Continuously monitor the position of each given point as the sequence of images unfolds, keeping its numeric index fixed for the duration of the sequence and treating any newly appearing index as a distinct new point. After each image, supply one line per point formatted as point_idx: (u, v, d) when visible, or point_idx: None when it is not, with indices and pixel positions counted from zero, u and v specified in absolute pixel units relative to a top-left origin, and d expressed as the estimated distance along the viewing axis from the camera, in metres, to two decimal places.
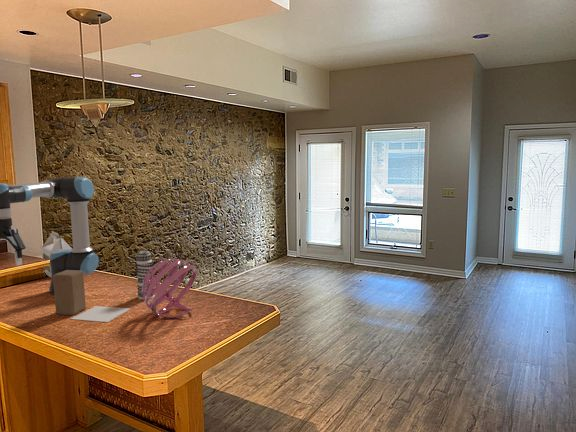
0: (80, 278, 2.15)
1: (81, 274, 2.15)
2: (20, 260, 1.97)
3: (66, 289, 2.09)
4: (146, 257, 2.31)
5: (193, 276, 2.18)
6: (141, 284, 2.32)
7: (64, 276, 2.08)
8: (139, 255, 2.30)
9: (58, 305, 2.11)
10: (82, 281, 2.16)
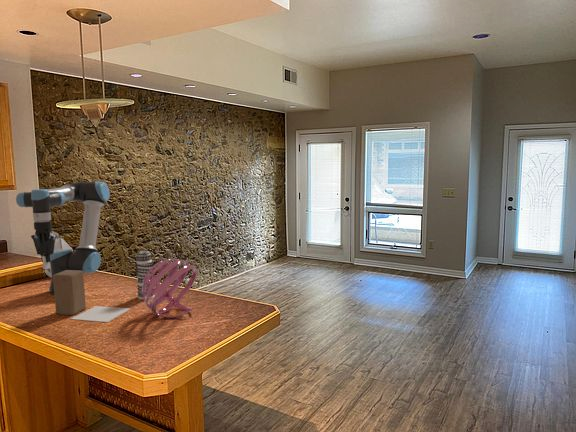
0: (80, 278, 2.14)
1: (81, 274, 2.15)
2: (48, 264, 2.16)
3: (65, 289, 2.09)
4: (146, 257, 2.31)
5: (193, 276, 2.18)
6: (141, 284, 2.32)
7: (64, 276, 2.08)
8: (139, 255, 2.30)
9: (58, 305, 2.11)
10: (82, 281, 2.16)
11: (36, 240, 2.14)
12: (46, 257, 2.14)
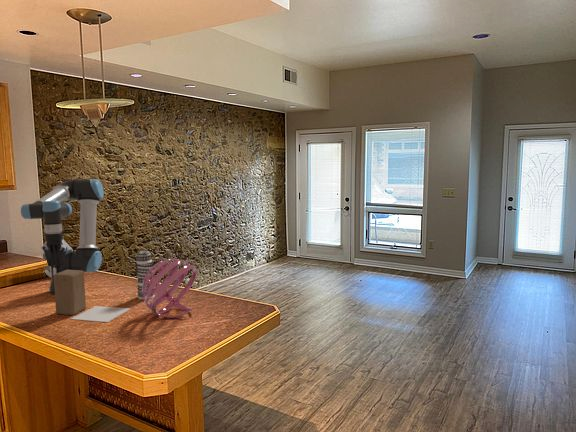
0: (81, 278, 2.14)
1: (82, 274, 2.15)
2: None
3: (66, 289, 2.08)
4: (146, 257, 2.31)
5: (193, 276, 2.18)
6: (141, 284, 2.32)
7: (65, 276, 2.08)
8: (139, 255, 2.30)
9: (58, 305, 2.11)
10: (83, 281, 2.16)
11: (47, 251, 2.13)
12: (57, 269, 2.13)
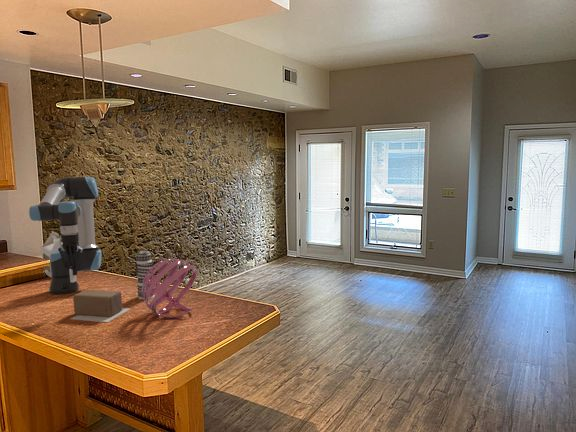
0: None
1: None
2: (75, 277, 2.13)
3: (97, 310, 2.07)
4: (146, 257, 2.31)
5: (193, 276, 2.18)
6: (141, 284, 2.32)
7: (109, 310, 2.06)
8: (139, 255, 2.30)
9: (80, 300, 2.08)
10: None
11: (63, 253, 2.11)
12: (73, 270, 2.11)
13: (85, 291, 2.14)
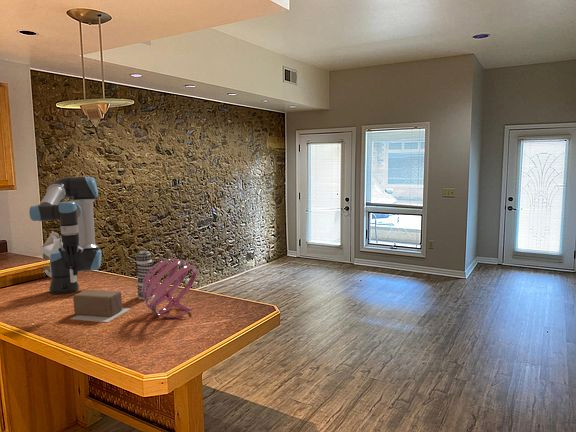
0: None
1: None
2: (75, 277, 2.13)
3: (97, 310, 2.07)
4: (146, 257, 2.31)
5: (193, 276, 2.18)
6: (141, 284, 2.32)
7: (109, 310, 2.06)
8: (139, 255, 2.30)
9: (80, 300, 2.08)
10: None
11: (63, 253, 2.11)
12: (73, 270, 2.11)
13: (85, 291, 2.14)
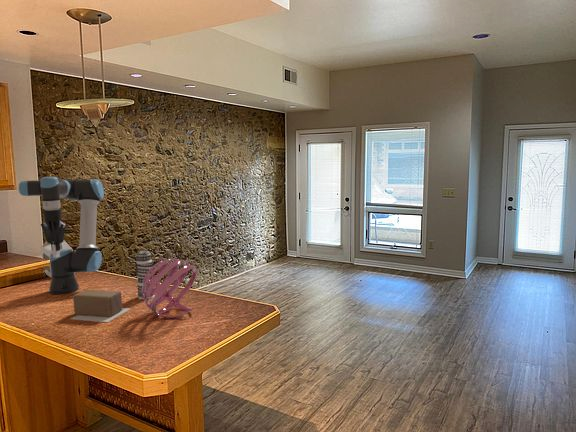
0: None
1: None
2: (58, 253, 2.14)
3: (97, 310, 2.07)
4: (146, 257, 2.31)
5: (193, 276, 2.18)
6: (141, 284, 2.32)
7: (109, 310, 2.06)
8: (139, 255, 2.30)
9: (80, 300, 2.08)
10: None
11: (46, 228, 2.12)
12: (56, 245, 2.12)
13: (85, 291, 2.14)
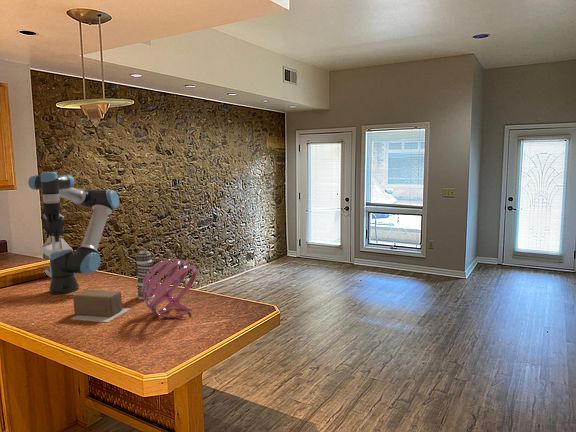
0: None
1: None
2: (57, 244, 2.25)
3: (97, 310, 2.07)
4: (146, 257, 2.31)
5: (193, 276, 2.18)
6: (141, 284, 2.32)
7: (109, 310, 2.06)
8: (139, 255, 2.30)
9: (80, 300, 2.08)
10: None
11: (45, 221, 2.24)
12: (55, 237, 2.23)
13: (85, 291, 2.14)
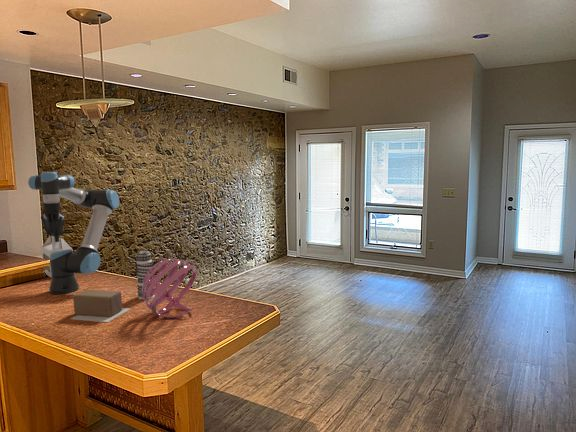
0: None
1: None
2: (57, 244, 2.25)
3: (97, 310, 2.07)
4: (146, 257, 2.31)
5: (193, 276, 2.18)
6: (141, 284, 2.32)
7: (109, 310, 2.06)
8: (139, 255, 2.30)
9: (80, 300, 2.08)
10: None
11: (45, 221, 2.24)
12: (55, 237, 2.23)
13: (85, 291, 2.14)
